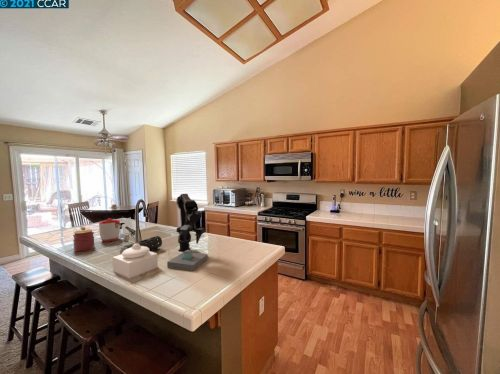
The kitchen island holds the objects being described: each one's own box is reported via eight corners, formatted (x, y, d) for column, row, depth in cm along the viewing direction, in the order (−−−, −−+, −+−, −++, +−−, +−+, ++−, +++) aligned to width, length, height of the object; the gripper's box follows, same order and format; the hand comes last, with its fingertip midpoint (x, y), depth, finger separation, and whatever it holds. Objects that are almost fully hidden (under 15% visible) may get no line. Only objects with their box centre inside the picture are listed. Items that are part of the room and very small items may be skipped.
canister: (69, 250, 166) (68, 228, 165) (87, 245, 178) (86, 224, 177) (80, 253, 161) (79, 229, 160) (98, 247, 173) (97, 225, 172)
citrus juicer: (115, 242, 185) (114, 219, 184) (95, 243, 185) (94, 219, 184) (126, 237, 200) (125, 216, 199) (107, 237, 201) (106, 216, 200)
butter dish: (129, 279, 120) (128, 250, 119) (112, 271, 129) (111, 245, 129) (157, 267, 134) (157, 242, 134) (141, 261, 144) (140, 237, 143)
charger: (183, 264, 139) (183, 251, 138) (187, 261, 143) (187, 249, 142) (189, 264, 138) (189, 252, 137) (192, 262, 141) (192, 250, 141)
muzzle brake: (162, 249, 167) (162, 236, 167) (129, 262, 142) (128, 247, 142) (153, 247, 172) (153, 234, 171) (119, 260, 146) (118, 245, 146)
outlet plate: (167, 267, 134) (167, 261, 134) (184, 256, 151) (184, 251, 151) (193, 270, 129) (193, 264, 129) (207, 259, 146) (207, 254, 146)
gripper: (170, 221, 139) (171, 245, 140) (196, 223, 133) (196, 248, 134) (181, 217, 149) (181, 240, 151) (205, 219, 144) (205, 242, 145)
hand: (191, 242), depth 145 cm, fingers open, 9 cm apart
